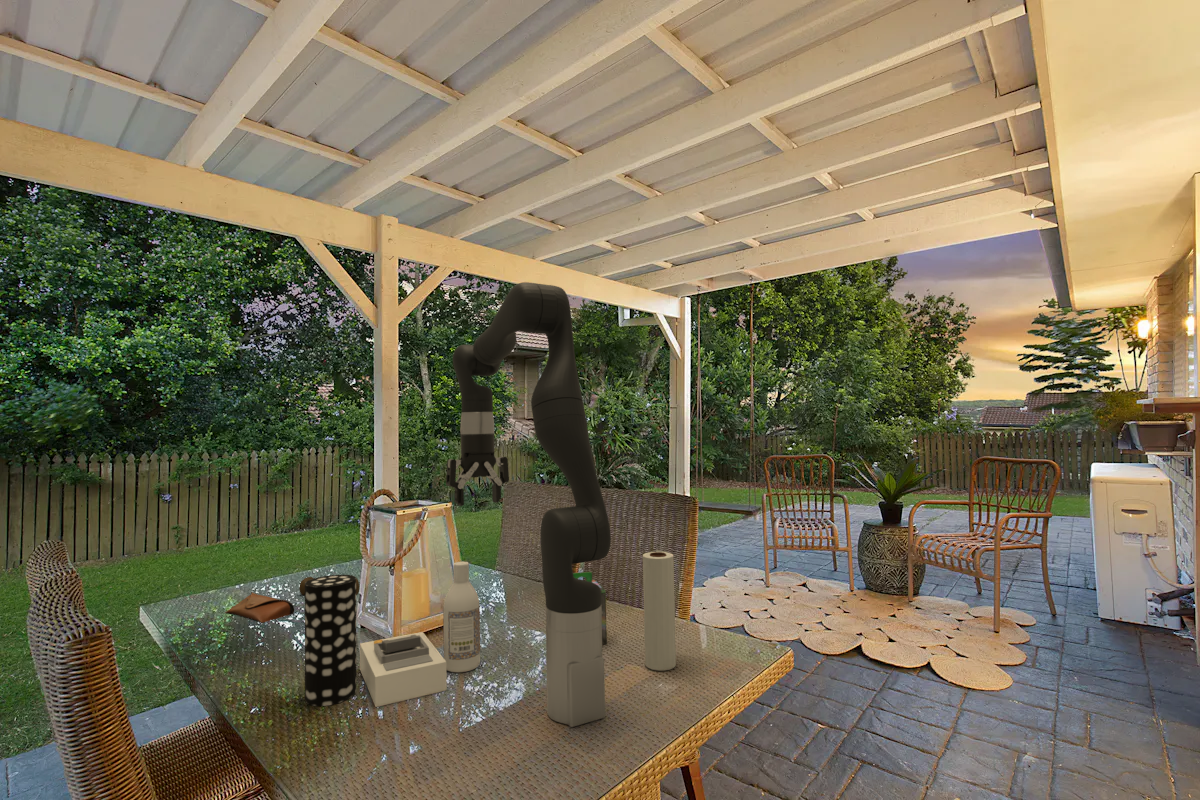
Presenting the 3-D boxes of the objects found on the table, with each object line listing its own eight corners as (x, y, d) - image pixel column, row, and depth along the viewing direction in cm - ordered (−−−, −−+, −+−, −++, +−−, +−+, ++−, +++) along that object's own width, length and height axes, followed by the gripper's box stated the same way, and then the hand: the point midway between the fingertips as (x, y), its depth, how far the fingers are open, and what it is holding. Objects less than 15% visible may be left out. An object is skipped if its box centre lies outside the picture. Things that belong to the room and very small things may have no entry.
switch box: (446, 690, 107) (446, 654, 107) (375, 707, 101) (375, 669, 101) (422, 656, 123) (422, 625, 123) (360, 669, 117) (359, 637, 117)
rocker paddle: (420, 646, 111) (420, 636, 112) (386, 652, 108) (386, 643, 109) (414, 643, 115) (414, 634, 116) (382, 649, 112) (381, 640, 113)
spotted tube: (300, 709, 101) (300, 588, 101) (310, 688, 109) (309, 576, 109) (353, 702, 103) (352, 584, 104) (359, 682, 111) (358, 573, 112)
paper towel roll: (665, 674, 112) (663, 558, 113) (638, 666, 116) (636, 555, 116) (684, 661, 118) (682, 551, 118) (658, 654, 121) (656, 548, 122)
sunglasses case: (220, 612, 154) (234, 586, 157) (244, 619, 159) (257, 594, 162) (262, 623, 145) (276, 595, 148) (286, 630, 150) (298, 603, 153)
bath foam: (486, 666, 117) (485, 563, 118) (453, 676, 113) (452, 569, 113) (470, 656, 122) (469, 557, 123) (437, 665, 118) (437, 562, 119)
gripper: (453, 433, 130) (454, 508, 129) (513, 431, 138) (514, 502, 137) (441, 433, 136) (442, 505, 135) (499, 431, 144) (500, 499, 143)
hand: (478, 503), depth 136 cm, fingers open, 8 cm apart
